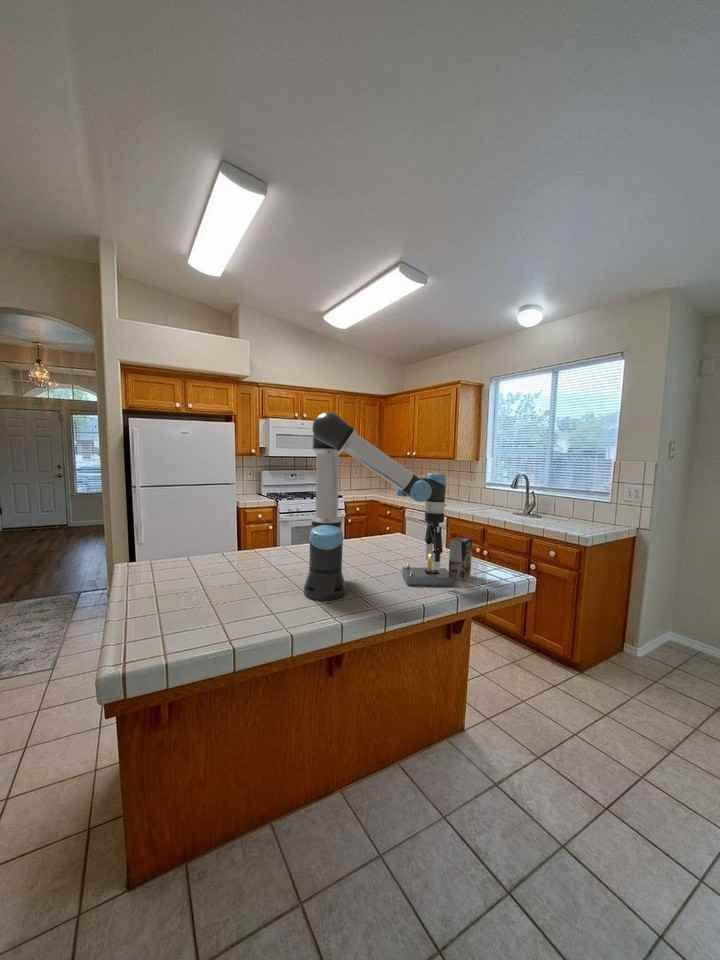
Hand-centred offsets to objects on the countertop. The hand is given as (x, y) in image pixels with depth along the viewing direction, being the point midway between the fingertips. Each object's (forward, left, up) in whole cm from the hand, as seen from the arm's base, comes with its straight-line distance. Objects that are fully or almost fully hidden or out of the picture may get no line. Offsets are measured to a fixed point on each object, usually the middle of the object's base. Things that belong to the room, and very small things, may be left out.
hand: (432, 564), depth 155 cm
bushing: (0, 0, -7) cm, 7 cm away
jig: (-2, 0, -7) cm, 7 cm away
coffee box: (+13, +6, -7) cm, 16 cm away
